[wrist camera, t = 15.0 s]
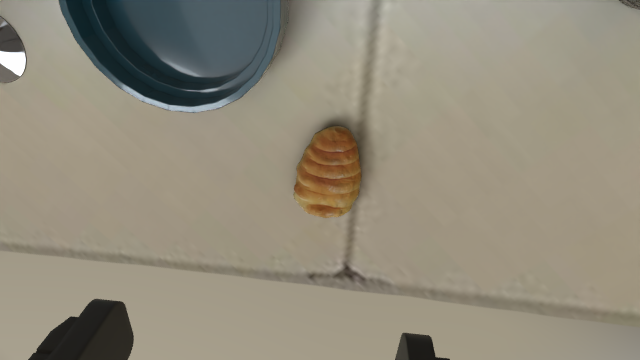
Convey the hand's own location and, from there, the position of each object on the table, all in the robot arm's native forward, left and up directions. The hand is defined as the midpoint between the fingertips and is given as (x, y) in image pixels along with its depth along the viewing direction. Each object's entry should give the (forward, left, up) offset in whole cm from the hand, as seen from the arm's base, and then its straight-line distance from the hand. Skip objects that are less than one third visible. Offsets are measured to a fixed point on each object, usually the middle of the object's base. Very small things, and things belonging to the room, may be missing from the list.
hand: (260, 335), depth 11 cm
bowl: (+12, -6, -28) cm, 31 cm away
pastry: (-1, +10, -28) cm, 30 cm away
